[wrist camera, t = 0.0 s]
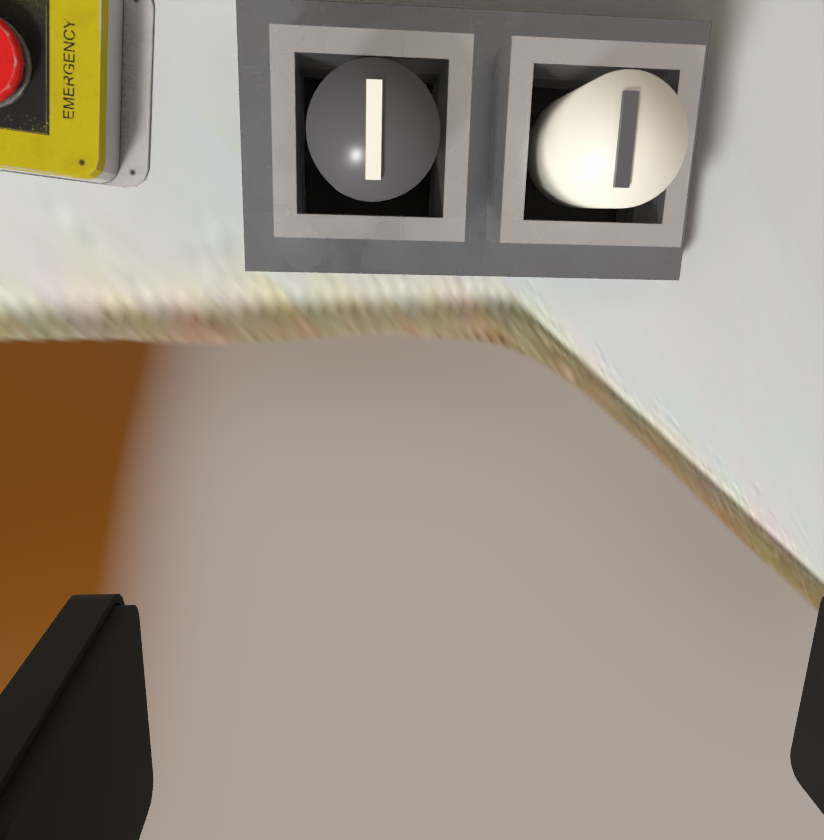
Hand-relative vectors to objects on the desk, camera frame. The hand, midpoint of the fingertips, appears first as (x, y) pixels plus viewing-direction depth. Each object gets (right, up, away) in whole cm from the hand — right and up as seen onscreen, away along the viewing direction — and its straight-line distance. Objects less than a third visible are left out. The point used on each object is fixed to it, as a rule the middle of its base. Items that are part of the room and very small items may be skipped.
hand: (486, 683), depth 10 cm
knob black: (-3, +16, +24) cm, 29 cm away
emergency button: (-21, +21, +26) cm, 39 cm away
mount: (+2, +17, +28) cm, 33 cm away
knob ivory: (+7, +16, +25) cm, 31 cm away
